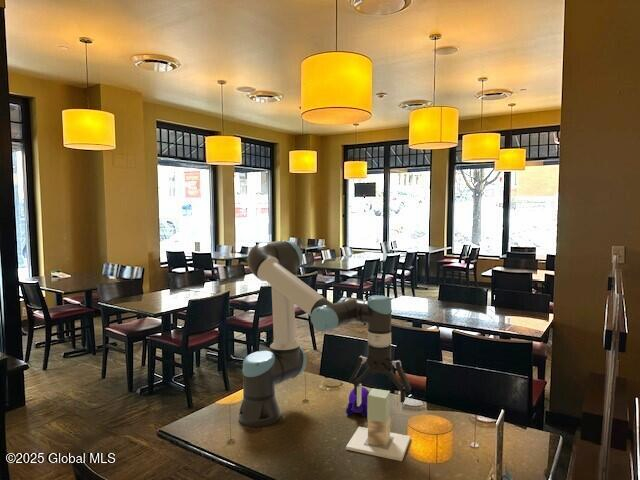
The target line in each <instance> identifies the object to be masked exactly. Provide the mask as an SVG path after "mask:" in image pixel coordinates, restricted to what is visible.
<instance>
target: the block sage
mask: <svg viewBox="0 0 640 480" xmlns="http://www.w3.org/2000/svg"><path fill="white" fill-rule="evenodd" d="M389 415H390V416H391V390H386V389H385V390H384V389H379V388H373V387H372V388H371V389H370V391H369V394H368V395H367V419H366V420H367V421H368V420H373V421H378V422H384V423H386V421H387V419H388V417H389Z"/></svg>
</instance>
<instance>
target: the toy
mask: <svg viewBox="0 0 640 480" xmlns="http://www.w3.org/2000/svg"><path fill="white" fill-rule="evenodd" d="M369 392H370V391H369V390H368V389H367V388H366V387H364V386H361V404H360V406H357V395H355V394H354V388H353V389H352V390H351V391H350V392H349V395H348V404H347V408H346V410H345V413H346V414H347V415H348V416H352V415H354V413H355V414H357V413H358V414H359V413H360V414H362V417H365V418H366V417H367V395H368V394H369Z"/></svg>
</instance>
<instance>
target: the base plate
mask: <svg viewBox="0 0 640 480" xmlns="http://www.w3.org/2000/svg"><path fill="white" fill-rule="evenodd" d="M411 439H412V438H411V435H405V434H400V433H395V432H391V431H390V440H389V442H388V444H387V446H386V447H382V446H378V445H373V444H368V427H364V426H358V427H357V429H356V430H355V432H354V434H353V435H352V437H351V438H350V440H349V442H348V443H347V444H346V446H345V449H346V450H348V451H351V452H352V451H353V452H357V453H362V454H366V455H371V456H375V457H379V458H380V457H381V458H386V459H389V460H390V459H391V460H395V461H400V462H403V459H404V457H405V454H406V452H407V449H408V446H409V445H410V441H411Z"/></svg>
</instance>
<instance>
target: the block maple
mask: <svg viewBox="0 0 640 480" xmlns="http://www.w3.org/2000/svg"><path fill="white" fill-rule="evenodd" d="M367 428H368V444H373V445H378V446H382V447H386V446H387V444H388V442H389V440H390V432H391V414H390V415H389V417H388V419H387V421H386V423H384V422H378V421H373V420H367Z"/></svg>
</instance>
